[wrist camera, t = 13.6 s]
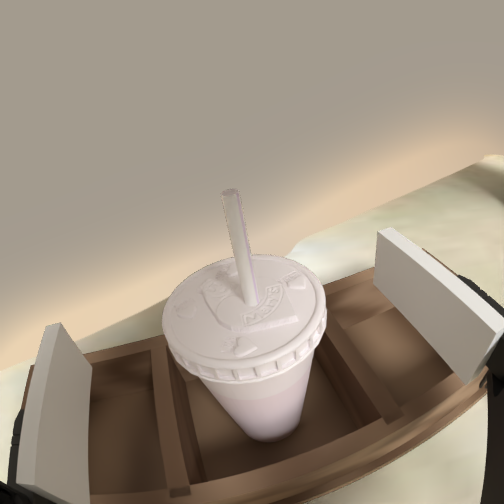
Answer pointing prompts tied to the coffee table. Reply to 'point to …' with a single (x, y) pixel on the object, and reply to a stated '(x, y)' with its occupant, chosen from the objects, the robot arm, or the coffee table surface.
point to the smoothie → (249, 331)
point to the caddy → (283, 451)
